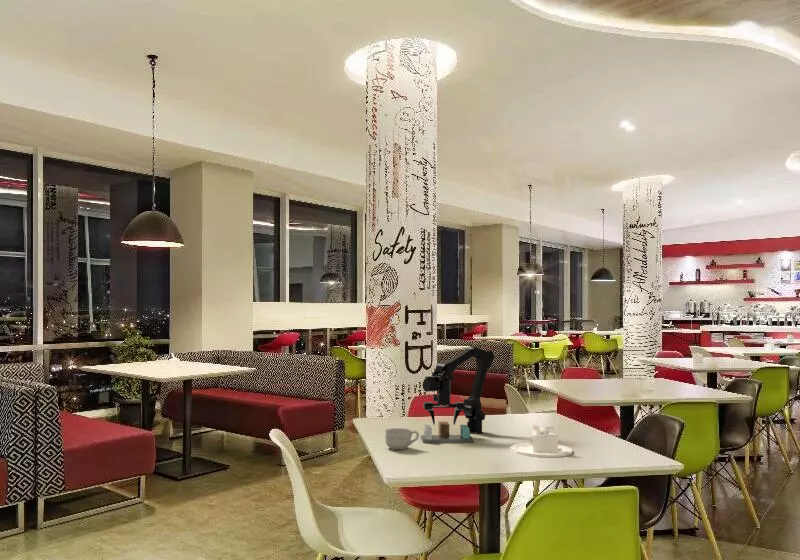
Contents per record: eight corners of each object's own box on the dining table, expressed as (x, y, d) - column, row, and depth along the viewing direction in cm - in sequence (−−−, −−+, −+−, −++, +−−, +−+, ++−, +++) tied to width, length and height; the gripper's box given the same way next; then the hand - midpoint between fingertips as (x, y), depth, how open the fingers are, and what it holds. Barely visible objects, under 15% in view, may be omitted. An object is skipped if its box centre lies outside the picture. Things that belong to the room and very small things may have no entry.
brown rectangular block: (447, 434, 299) (447, 421, 299) (449, 437, 291) (449, 424, 291) (438, 434, 299) (438, 421, 299) (440, 437, 291) (440, 424, 291)
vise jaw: (465, 434, 290) (465, 424, 290) (469, 438, 280) (469, 428, 280) (460, 434, 289) (460, 424, 290) (463, 438, 279) (463, 428, 280)
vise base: (469, 438, 290) (469, 424, 290) (473, 442, 280) (473, 428, 280) (421, 438, 288) (421, 424, 289) (423, 442, 278) (423, 428, 279)
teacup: (381, 450, 263) (381, 430, 264) (390, 445, 273) (390, 426, 274) (413, 452, 258) (413, 432, 259) (421, 447, 269) (421, 428, 269)
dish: (583, 457, 254) (582, 428, 255) (522, 459, 250) (522, 429, 251) (557, 444, 278) (557, 418, 279) (502, 446, 274) (502, 419, 275)
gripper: (461, 388, 305) (461, 421, 304) (422, 388, 304) (422, 421, 303) (465, 391, 294) (465, 425, 293) (424, 391, 293) (424, 425, 292)
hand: (444, 424), depth 295 cm, fingers open, 9 cm apart
